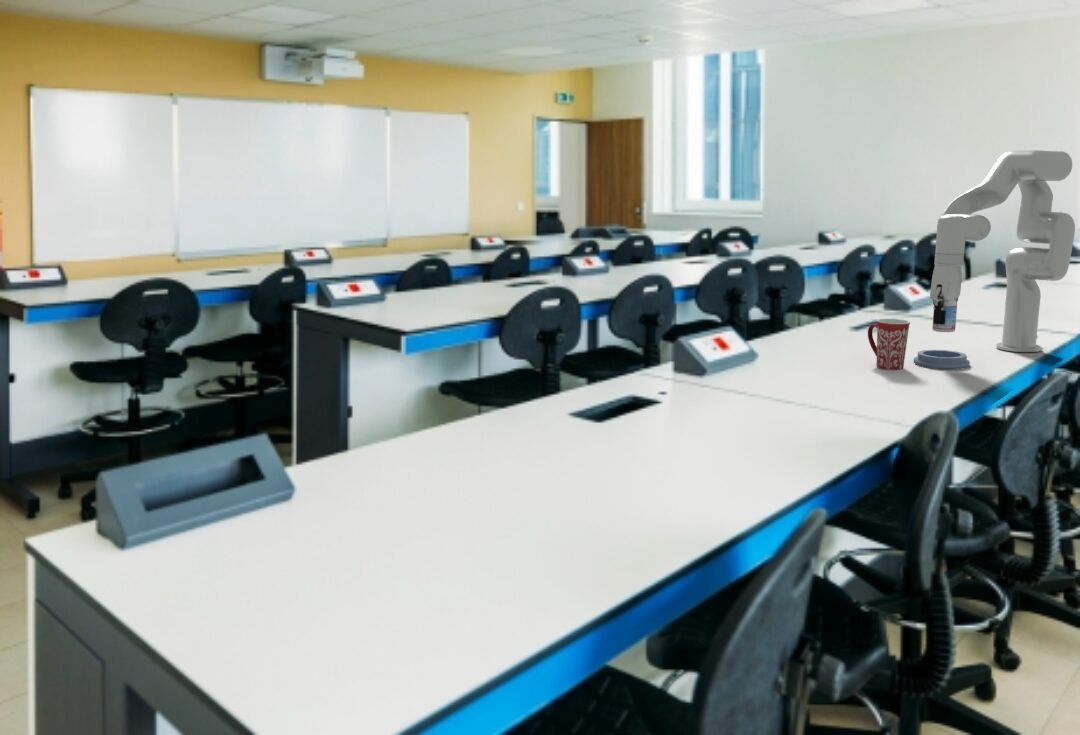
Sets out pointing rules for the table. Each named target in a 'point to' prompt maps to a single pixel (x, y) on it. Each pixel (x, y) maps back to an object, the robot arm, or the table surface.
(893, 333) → the mug
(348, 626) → the table surface
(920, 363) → the round tray
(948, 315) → the pill bottle
